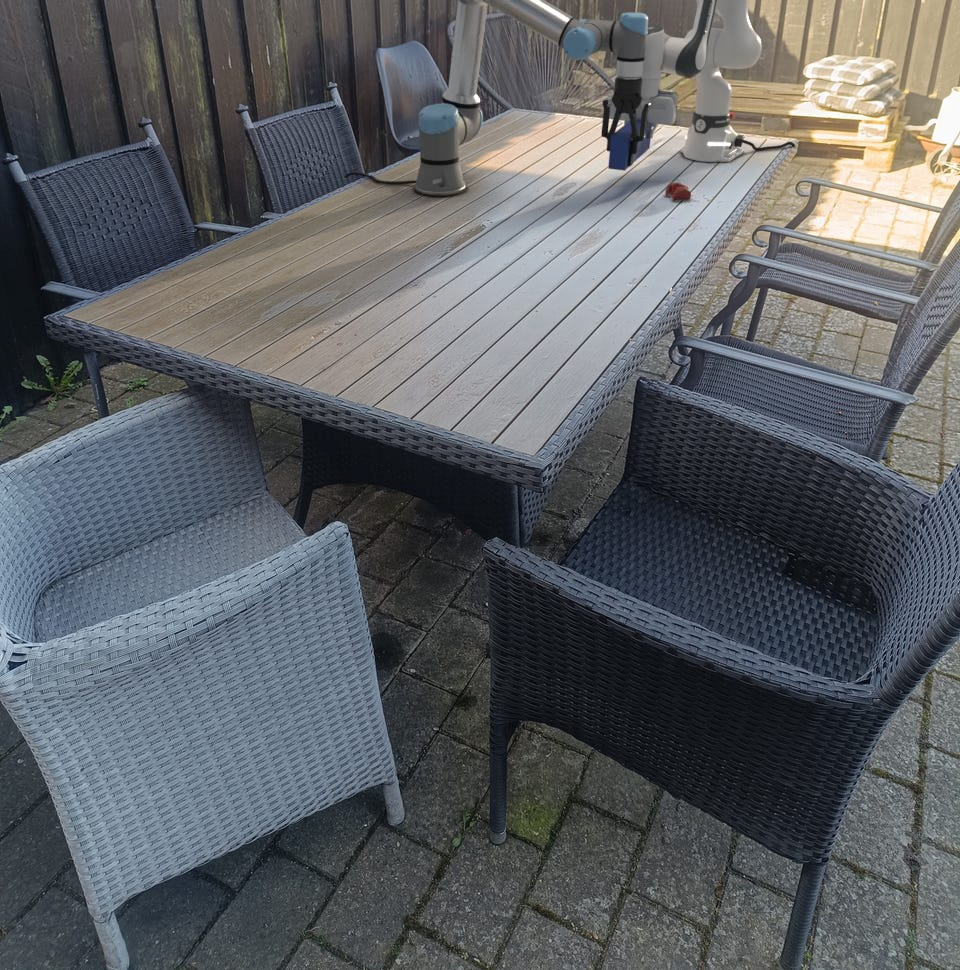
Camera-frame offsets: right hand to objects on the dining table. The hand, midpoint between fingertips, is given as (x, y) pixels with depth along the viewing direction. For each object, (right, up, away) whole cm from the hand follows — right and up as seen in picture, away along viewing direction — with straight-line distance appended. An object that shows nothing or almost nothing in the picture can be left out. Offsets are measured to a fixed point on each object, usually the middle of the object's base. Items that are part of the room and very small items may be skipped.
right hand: (639, 137), depth 258 cm
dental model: (+10, -21, -7) cm, 24 cm away
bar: (-4, -8, -5) cm, 11 cm away
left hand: (-8, -13, -13) cm, 20 cm away
